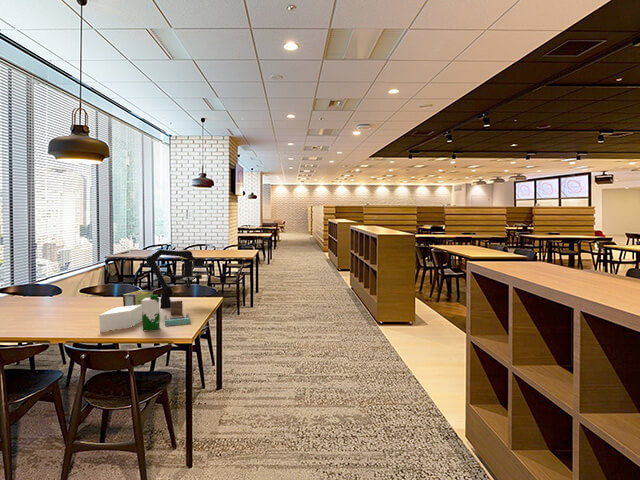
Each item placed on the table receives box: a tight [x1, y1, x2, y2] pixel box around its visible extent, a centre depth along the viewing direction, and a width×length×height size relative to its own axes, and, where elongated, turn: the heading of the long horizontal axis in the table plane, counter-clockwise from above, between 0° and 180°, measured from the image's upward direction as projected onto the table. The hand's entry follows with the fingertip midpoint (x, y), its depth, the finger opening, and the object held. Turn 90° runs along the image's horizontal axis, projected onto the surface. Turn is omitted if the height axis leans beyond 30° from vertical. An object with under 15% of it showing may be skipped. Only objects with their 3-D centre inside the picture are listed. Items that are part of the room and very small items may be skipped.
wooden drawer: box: [168, 300, 184, 320], centre depth 249 cm, size 14×8×11 cm, turn 18°
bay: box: [164, 313, 191, 327], centre depth 246 cm, size 15×14×3 cm
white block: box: [98, 304, 142, 333], centre depth 237 cm, size 14×29×10 cm, turn 153°
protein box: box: [122, 289, 154, 307], centre depth 258 cm, size 10×15×16 cm
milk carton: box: [141, 294, 161, 332], centre depth 230 cm, size 9×9×20 cm
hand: (188, 288), depth 288 cm, fingers closed
